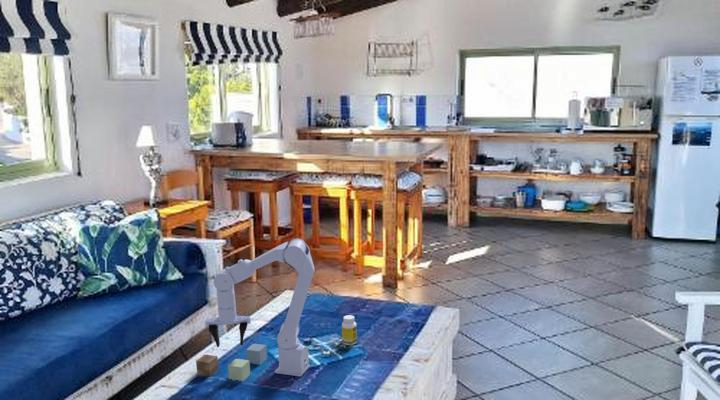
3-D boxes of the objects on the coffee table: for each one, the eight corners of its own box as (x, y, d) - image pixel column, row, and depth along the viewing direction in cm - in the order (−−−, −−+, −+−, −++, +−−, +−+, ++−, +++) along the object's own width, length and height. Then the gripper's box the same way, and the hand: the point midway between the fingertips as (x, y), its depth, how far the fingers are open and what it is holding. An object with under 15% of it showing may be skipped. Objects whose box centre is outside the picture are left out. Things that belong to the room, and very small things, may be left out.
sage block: (250, 374, 204) (249, 360, 203) (242, 381, 199) (241, 367, 198) (236, 372, 205) (235, 358, 204) (229, 379, 201) (228, 365, 200)
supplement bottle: (355, 346, 222) (354, 320, 220) (340, 345, 223) (339, 319, 221) (358, 339, 227) (357, 314, 225) (344, 338, 228) (343, 313, 226)
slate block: (267, 358, 215) (266, 345, 214) (260, 364, 210) (259, 351, 209) (254, 356, 216) (253, 343, 215) (247, 363, 212) (246, 349, 211)
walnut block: (218, 369, 207) (217, 356, 206) (210, 376, 203) (209, 362, 202) (205, 368, 209) (204, 354, 208) (197, 374, 204) (196, 360, 203)
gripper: (250, 300, 206) (252, 338, 209) (205, 303, 205) (209, 341, 208) (248, 307, 200) (251, 347, 202) (202, 311, 198) (206, 350, 201)
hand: (230, 344), depth 205 cm, fingers open, 7 cm apart
